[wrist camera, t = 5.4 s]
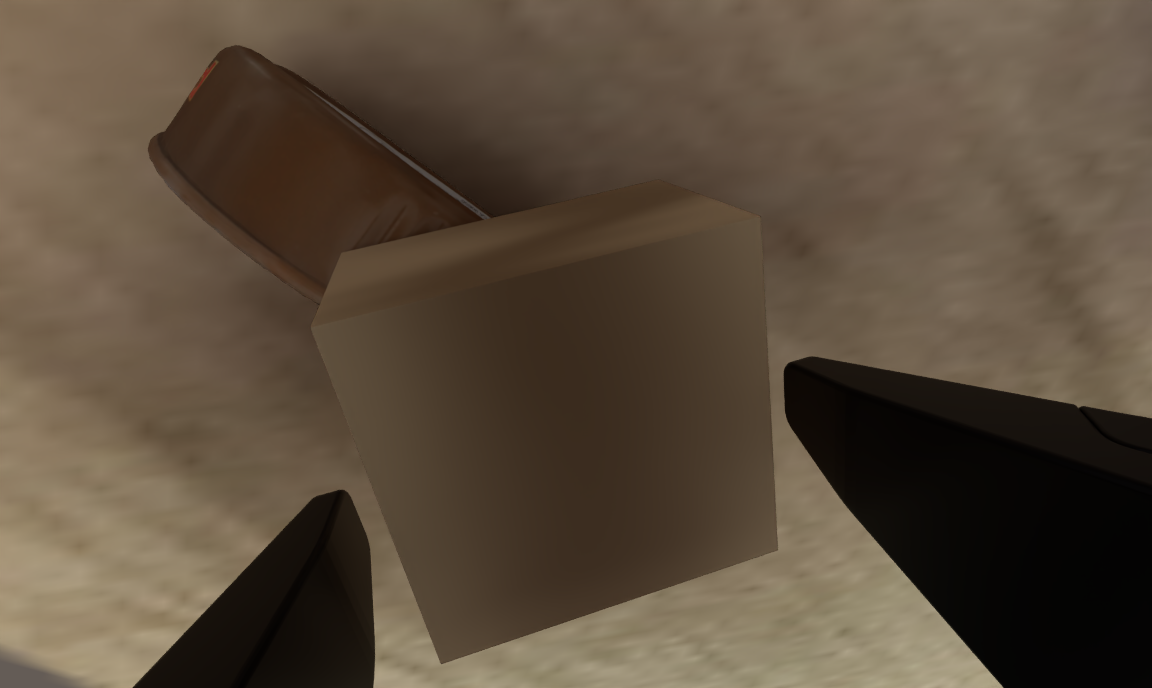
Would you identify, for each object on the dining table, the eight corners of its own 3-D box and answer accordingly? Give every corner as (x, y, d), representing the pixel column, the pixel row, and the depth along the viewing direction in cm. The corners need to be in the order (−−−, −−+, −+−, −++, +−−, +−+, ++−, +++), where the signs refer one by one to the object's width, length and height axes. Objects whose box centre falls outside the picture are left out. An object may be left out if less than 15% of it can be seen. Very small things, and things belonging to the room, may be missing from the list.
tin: (214, 136, 15) (23, 185, 8) (283, 29, 15) (150, -27, 7) (638, 420, 22) (758, 599, 14) (697, 351, 21) (854, 499, 14)
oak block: (658, 179, 10) (760, 216, 7) (689, 439, 12) (778, 550, 9) (341, 253, 9) (310, 327, 6) (432, 516, 11) (440, 663, 8)
